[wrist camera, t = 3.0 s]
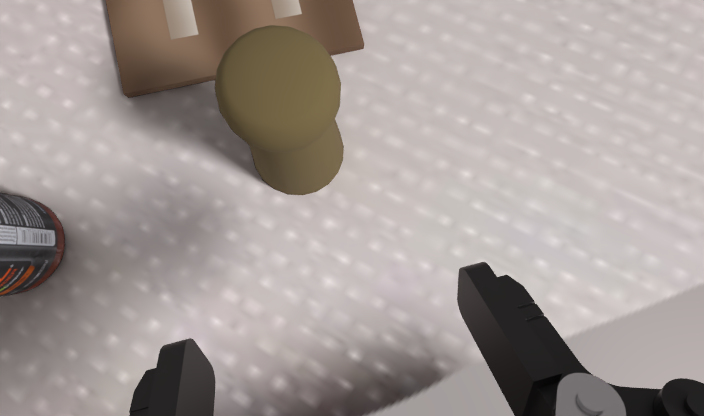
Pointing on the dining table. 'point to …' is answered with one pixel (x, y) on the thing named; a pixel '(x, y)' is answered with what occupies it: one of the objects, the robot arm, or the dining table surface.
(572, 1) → the dining table surface
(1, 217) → the supplement bottle
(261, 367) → the dining table surface
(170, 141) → the dining table surface
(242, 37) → the olive pawn figure
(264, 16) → the board
